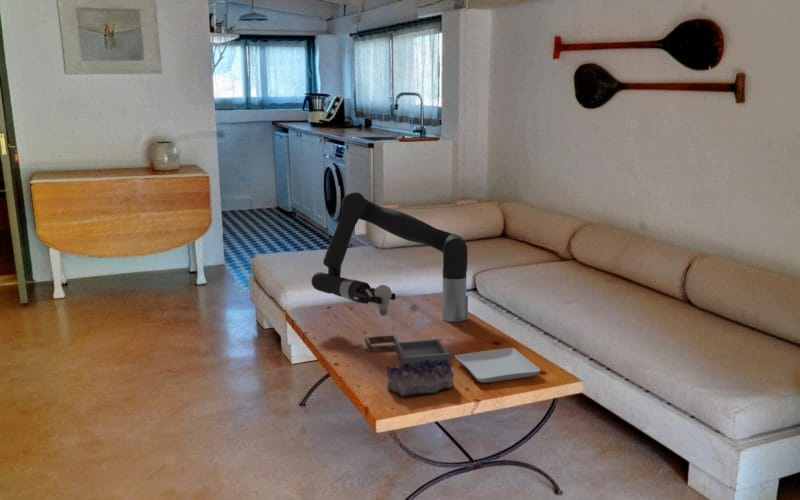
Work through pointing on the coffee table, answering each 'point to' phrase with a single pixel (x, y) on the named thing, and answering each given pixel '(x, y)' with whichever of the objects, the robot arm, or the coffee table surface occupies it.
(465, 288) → the robot arm
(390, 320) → the coffee table surface
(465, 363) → the salad plate
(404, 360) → the tray
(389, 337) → the square wooden frame
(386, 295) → the lightbulb
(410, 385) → the geode
